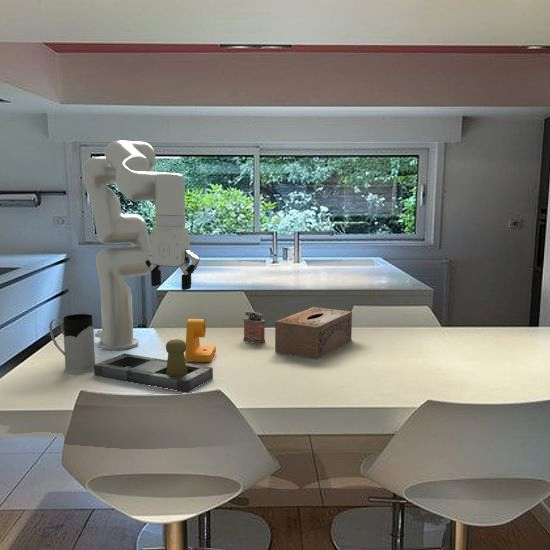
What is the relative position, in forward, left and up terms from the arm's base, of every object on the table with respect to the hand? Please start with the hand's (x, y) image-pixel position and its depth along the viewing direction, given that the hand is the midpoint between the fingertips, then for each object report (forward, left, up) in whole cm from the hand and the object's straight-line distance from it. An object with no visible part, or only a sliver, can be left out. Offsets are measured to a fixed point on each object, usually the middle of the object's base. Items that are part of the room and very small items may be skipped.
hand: (171, 287), depth 143 cm
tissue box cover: (+22, +45, -25) cm, 56 cm away
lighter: (+2, +41, -24) cm, 48 cm away
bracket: (-3, +17, -25) cm, 30 cm away
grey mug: (-30, -7, -24) cm, 39 cm away
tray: (-5, -3, -24) cm, 25 cm away
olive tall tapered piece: (+3, -3, -24) cm, 25 cm away
